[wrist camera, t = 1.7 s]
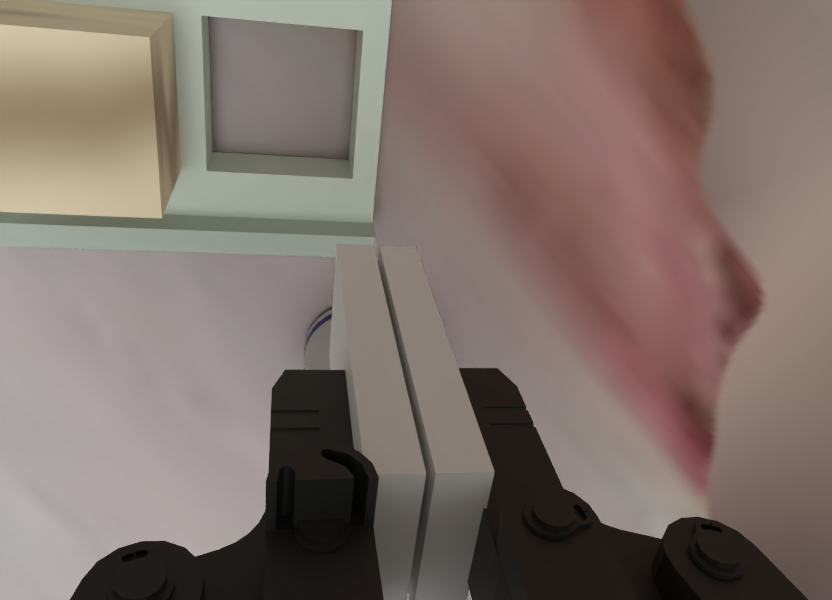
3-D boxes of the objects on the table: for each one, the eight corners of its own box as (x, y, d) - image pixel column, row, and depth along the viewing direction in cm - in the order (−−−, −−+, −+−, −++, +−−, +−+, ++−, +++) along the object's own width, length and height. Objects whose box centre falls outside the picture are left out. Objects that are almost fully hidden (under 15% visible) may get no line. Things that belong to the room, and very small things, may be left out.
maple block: (181, 169, 29) (162, 218, 25) (21, 161, 28) (-29, 210, 23) (172, 12, 26) (149, 37, 22) (-7, -4, 25) (-69, 18, 20)
